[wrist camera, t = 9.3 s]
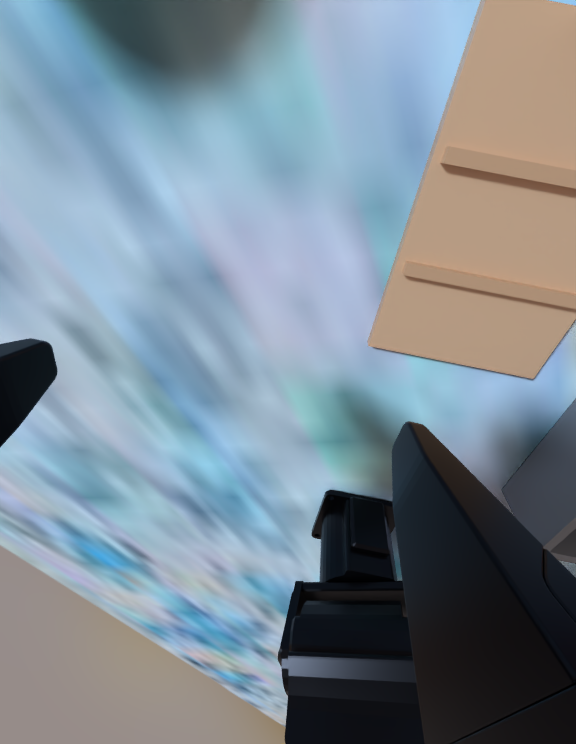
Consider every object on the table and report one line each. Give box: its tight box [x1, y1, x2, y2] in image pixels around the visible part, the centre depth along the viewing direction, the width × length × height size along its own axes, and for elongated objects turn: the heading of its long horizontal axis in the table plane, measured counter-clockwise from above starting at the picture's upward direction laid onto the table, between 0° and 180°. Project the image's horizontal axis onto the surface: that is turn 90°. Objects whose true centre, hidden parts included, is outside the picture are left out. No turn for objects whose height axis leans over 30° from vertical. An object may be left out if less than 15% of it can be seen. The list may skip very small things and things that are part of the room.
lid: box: [368, 0, 576, 379], centre depth 14 cm, size 17×10×4 cm, turn 170°
